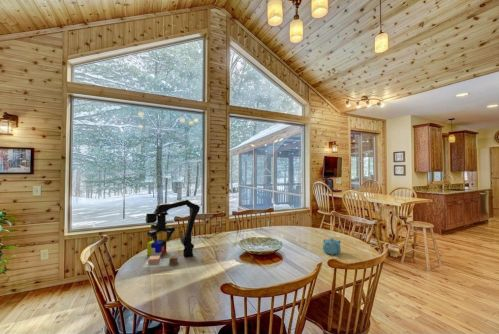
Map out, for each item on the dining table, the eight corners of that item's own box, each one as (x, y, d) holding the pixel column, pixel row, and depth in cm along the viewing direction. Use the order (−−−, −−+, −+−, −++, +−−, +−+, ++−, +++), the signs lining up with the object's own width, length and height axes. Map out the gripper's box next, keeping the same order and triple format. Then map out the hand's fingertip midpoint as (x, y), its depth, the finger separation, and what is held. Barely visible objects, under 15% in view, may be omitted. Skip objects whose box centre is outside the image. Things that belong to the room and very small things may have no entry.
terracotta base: (160, 259, 173) (160, 255, 173) (158, 263, 166) (158, 258, 166) (150, 260, 172) (150, 255, 172) (148, 263, 165) (148, 259, 165)
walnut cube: (177, 262, 170) (177, 255, 170) (177, 265, 165) (177, 258, 165) (170, 263, 169) (170, 256, 169) (169, 266, 164) (169, 258, 164)
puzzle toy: (159, 257, 179) (159, 244, 179) (147, 256, 181) (147, 243, 181) (166, 252, 189) (166, 240, 189) (154, 251, 191) (155, 239, 191)
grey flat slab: (170, 259, 176) (170, 257, 176) (167, 266, 162) (167, 265, 162) (146, 260, 173) (146, 259, 173) (142, 268, 159) (142, 267, 159)
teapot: (332, 259, 179) (332, 243, 179) (315, 252, 193) (315, 237, 193) (349, 254, 190) (349, 239, 190) (331, 248, 204) (331, 234, 204)
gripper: (167, 217, 185) (167, 237, 185) (143, 222, 170) (143, 244, 170) (175, 219, 177) (175, 240, 178) (151, 224, 163) (151, 247, 163)
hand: (161, 243), depth 172 cm, fingers open, 9 cm apart
